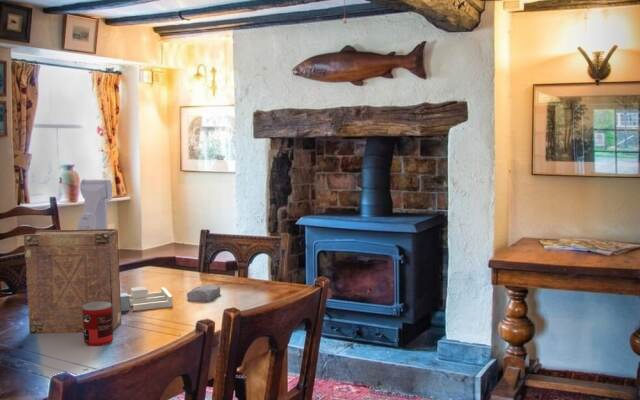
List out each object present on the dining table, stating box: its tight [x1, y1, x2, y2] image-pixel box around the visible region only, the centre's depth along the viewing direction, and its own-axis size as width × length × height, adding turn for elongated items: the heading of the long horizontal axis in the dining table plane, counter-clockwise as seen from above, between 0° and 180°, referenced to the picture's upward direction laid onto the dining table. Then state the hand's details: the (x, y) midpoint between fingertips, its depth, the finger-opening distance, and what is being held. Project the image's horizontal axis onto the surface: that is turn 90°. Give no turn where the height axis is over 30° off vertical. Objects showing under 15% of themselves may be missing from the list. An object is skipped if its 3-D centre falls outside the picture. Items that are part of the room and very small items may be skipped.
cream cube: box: [130, 286, 149, 300], centre depth 235 cm, size 5×5×5 cm
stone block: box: [186, 284, 221, 302], centre depth 241 cm, size 12×5×10 cm
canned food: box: [82, 301, 114, 347], centre depth 189 cm, size 8×8×11 cm
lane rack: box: [128, 287, 174, 312], centre depth 232 cm, size 15×13×4 cm
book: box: [23, 228, 122, 334], centre depth 203 cm, size 25×9×30 cm, turn 91°
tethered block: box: [120, 292, 130, 312], centre depth 223 cm, size 5×14×6 cm, turn 113°
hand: (87, 307), depth 221 cm, fingers open, 7 cm apart
